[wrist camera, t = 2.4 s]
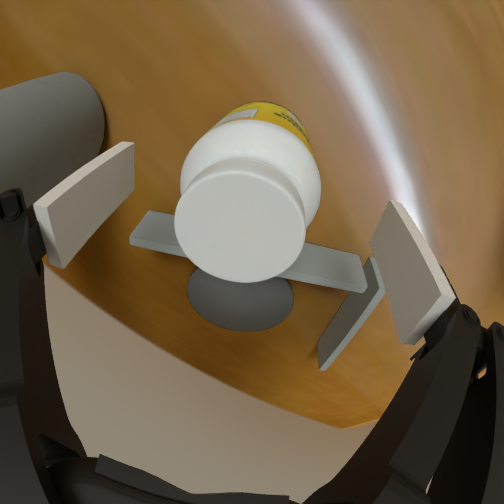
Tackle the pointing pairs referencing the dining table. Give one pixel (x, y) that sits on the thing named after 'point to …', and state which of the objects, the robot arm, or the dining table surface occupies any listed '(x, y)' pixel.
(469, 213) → the dining table surface
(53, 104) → the water bottle
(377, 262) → the robot arm
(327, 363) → the fence end
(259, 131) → the pill bottle
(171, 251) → the fence long
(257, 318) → the coaster
